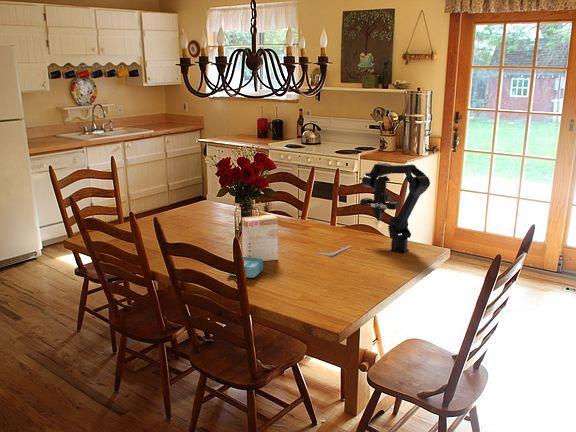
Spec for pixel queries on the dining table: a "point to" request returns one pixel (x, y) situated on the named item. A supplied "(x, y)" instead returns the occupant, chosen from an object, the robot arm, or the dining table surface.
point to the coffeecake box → (260, 237)
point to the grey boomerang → (334, 252)
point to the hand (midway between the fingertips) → (378, 220)
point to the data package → (252, 266)
